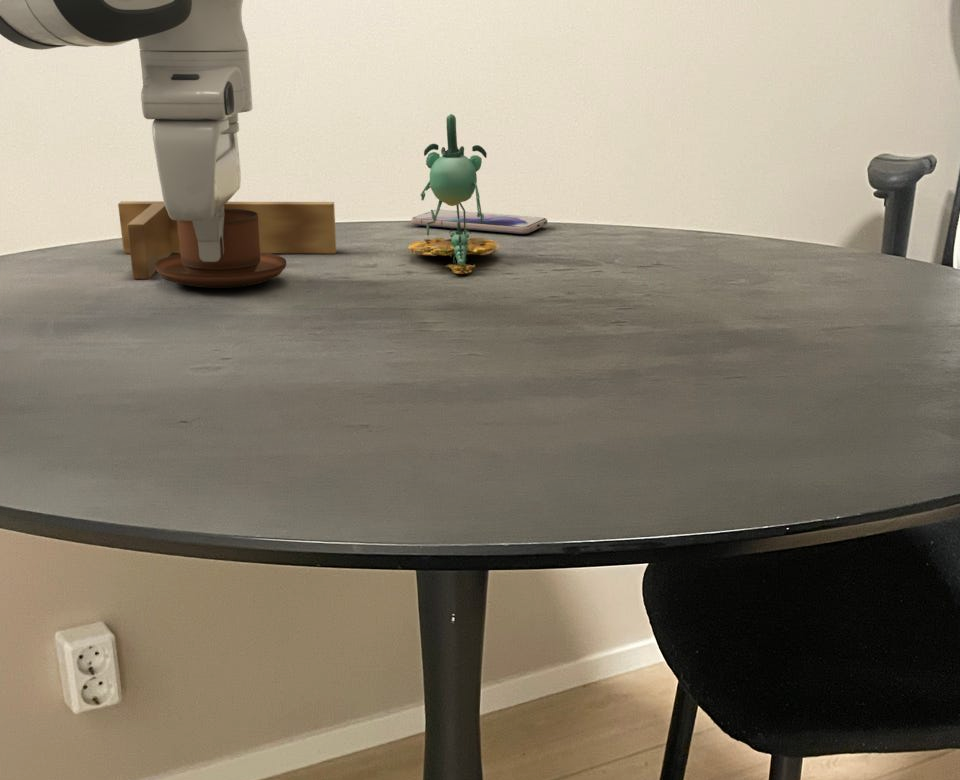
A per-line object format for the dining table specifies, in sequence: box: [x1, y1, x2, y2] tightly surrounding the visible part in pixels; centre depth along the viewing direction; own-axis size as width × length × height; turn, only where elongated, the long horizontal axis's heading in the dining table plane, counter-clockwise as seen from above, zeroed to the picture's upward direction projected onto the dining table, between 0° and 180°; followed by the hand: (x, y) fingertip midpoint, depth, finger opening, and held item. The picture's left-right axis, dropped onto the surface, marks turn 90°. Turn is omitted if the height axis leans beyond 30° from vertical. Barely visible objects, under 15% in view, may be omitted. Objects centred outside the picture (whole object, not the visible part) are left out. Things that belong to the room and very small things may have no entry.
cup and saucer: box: [155, 209, 287, 289], centre depth 116 cm, size 12×12×6 cm
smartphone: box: [411, 209, 548, 235], centre depth 148 cm, size 7×1×15 cm
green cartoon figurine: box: [407, 113, 501, 275], centre depth 127 cm, size 10×18×15 cm, turn 171°
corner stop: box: [117, 200, 337, 280], centre depth 124 cm, size 22×15×5 cm
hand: (212, 259), depth 111 cm, fingers closed
